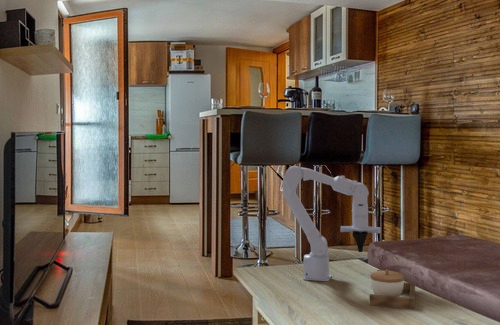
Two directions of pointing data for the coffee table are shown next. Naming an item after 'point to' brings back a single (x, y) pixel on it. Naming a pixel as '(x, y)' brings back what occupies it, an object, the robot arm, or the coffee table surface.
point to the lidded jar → (387, 283)
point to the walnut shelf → (396, 298)
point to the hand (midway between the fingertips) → (360, 251)
